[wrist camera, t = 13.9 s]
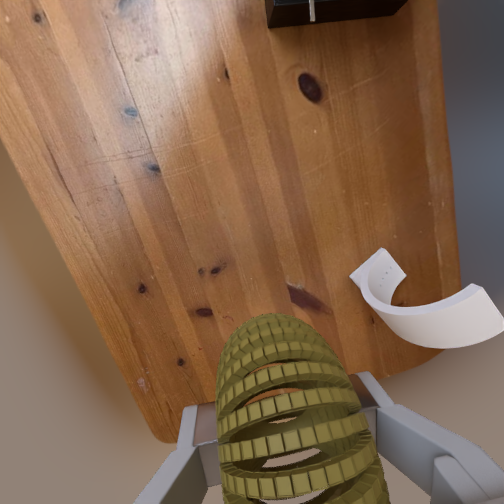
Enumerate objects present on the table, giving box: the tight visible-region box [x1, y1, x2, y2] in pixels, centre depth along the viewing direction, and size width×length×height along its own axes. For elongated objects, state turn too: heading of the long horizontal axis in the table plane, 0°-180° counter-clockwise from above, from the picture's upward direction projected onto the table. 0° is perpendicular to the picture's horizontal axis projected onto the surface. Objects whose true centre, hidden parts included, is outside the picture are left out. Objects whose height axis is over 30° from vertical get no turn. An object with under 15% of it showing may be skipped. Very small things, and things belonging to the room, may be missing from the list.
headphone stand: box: [349, 248, 504, 348], centre depth 25 cm, size 5×6×12 cm
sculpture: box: [216, 313, 391, 504], centre depth 9 cm, size 8×4×8 cm, turn 9°
